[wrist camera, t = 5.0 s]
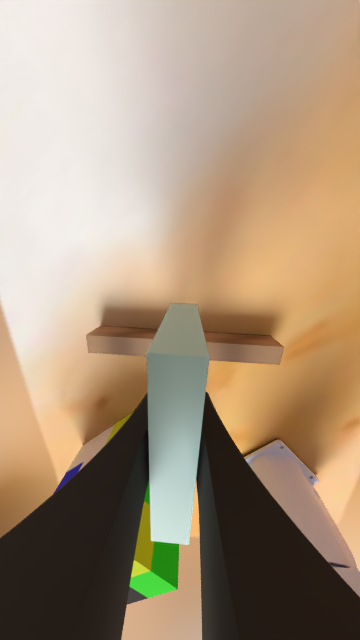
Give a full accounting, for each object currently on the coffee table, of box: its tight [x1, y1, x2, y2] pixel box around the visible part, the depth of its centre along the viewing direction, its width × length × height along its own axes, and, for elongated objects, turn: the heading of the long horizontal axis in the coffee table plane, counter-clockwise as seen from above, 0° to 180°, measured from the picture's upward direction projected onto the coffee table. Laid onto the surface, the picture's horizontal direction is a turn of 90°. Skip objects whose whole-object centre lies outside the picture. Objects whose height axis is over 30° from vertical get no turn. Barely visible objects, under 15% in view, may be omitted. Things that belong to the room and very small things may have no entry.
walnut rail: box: [86, 326, 284, 365], centre depth 16 cm, size 18×2×3 cm, turn 88°
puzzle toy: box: [54, 412, 179, 604], centre depth 19 cm, size 10×10×10 cm
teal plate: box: [147, 303, 209, 545], centre depth 10 cm, size 10×2×7 cm, turn 178°
